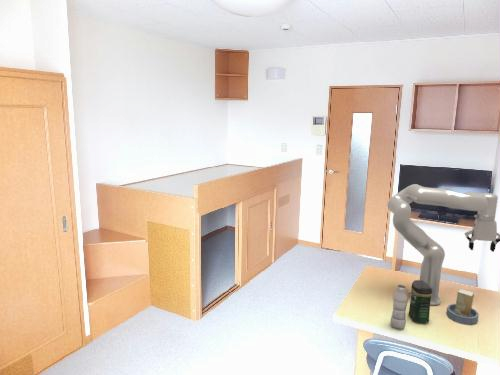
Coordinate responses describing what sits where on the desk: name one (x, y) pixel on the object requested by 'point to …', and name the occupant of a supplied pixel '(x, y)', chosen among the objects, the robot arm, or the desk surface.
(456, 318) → the slate bowl
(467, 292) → the skincare box
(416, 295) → the coffee jar
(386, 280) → the desk surface
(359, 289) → the desk surface
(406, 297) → the plastic bottle
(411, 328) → the desk surface
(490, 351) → the desk surface
